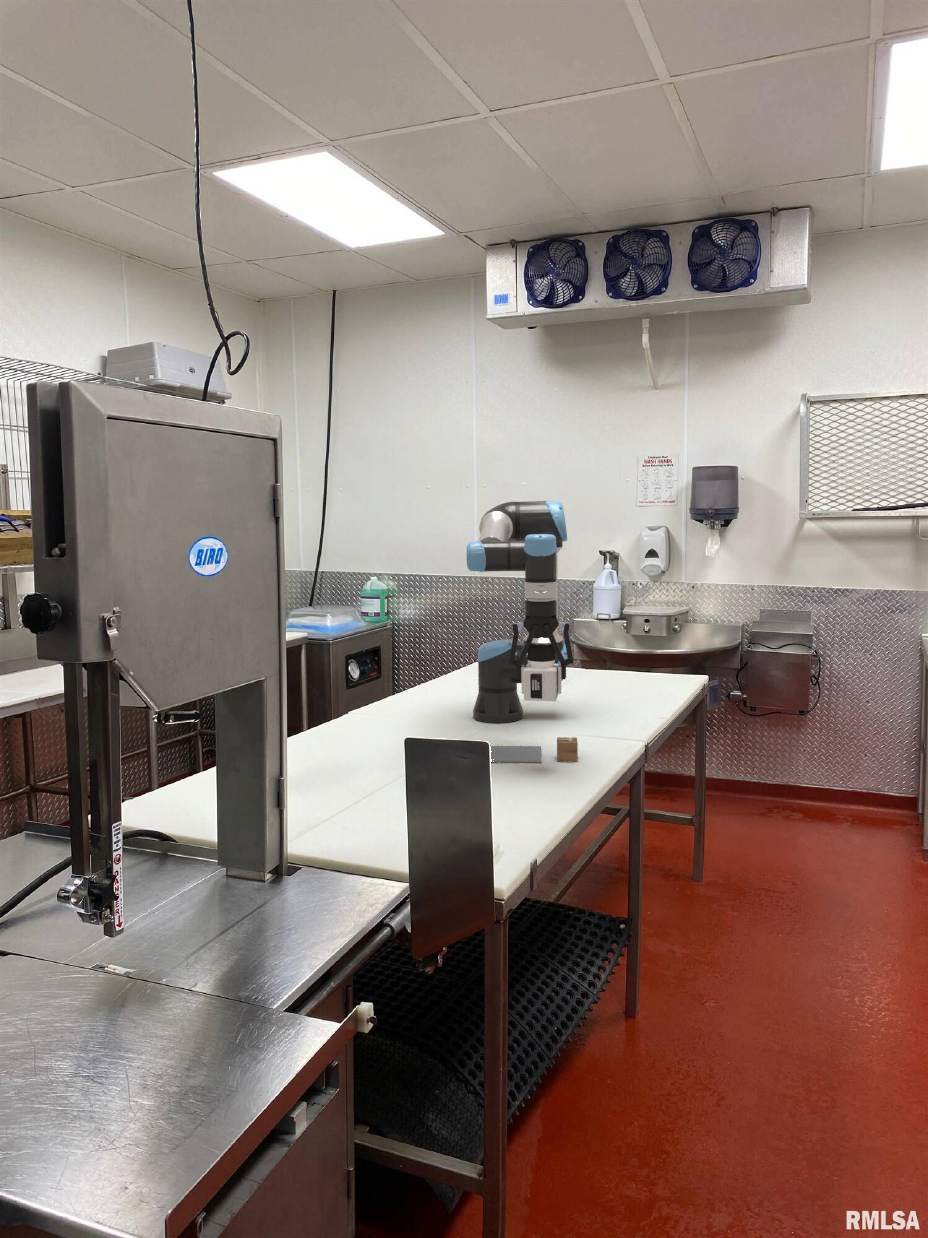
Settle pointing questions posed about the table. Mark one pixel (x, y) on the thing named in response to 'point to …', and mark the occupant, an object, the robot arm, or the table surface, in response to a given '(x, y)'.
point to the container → (541, 674)
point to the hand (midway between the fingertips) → (541, 692)
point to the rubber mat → (516, 754)
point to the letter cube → (567, 749)
